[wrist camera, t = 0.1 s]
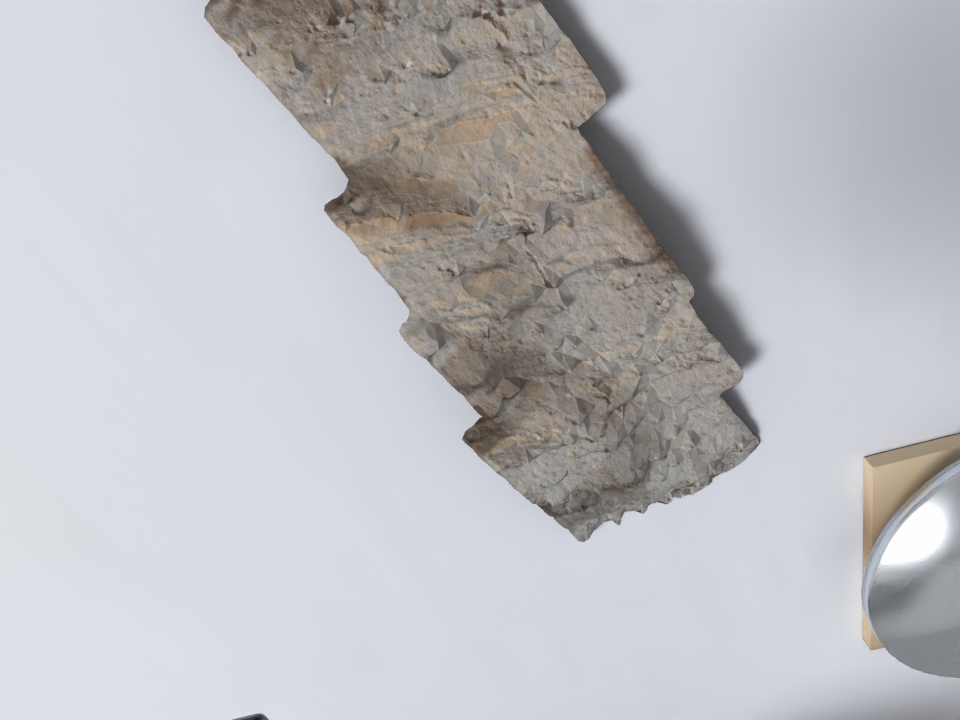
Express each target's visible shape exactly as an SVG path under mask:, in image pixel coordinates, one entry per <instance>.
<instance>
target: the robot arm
mask: <svg viewBox="0 0 960 720" xmlns="http://www.w3.org/2000/svg"><path fill="white" fill-rule="evenodd" d="M234 720H268V718H267V717H266V716H265V715H263V714H253V715H249V716H245V717H241V718H237V719H234Z"/></svg>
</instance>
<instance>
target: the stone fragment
mask: <svg viewBox="0 0 960 720" xmlns="http://www.w3.org/2000/svg"><path fill="white" fill-rule="evenodd" d="M204 17H205V19H206V20H207V21H208V22H209V24H210V25H211V26H212V27H213V29H214V30H215V31H216V32H217V33H218V34H219V36H220V37H221V38H222V39H223V40H224V41H225V42H226V43H227V44H229V45H230V46H231V47H233V49H234V50H235V52H236V53H237V55H238V56H239V58H240V59H241V61H242V62H243V63H244V64H245V65H246V66H247V67H248V68H249V69H250V70H251V71H252V72H253V73H254V74H255V75H256V76H257V77H258V78H260V80H261V81H262V82H263V83H264V84H265V85H266V86H267V87H268V88H269V90H270V91H271V92H272V93H273V94H274V95H275V97H276V98H277V99H278V100H279V101H280V102H281V103H282V104H283V105H284V106H285V107H286V108H287V109H288V110H289V111H290V112H291V113H292V114H293V116H294V117H295V118H296V119H297V121H298V122H299V123H300V124H301V126H302V127H303V128H304V129H305V130H306V131H307V132H308V133H309V134H310V135H311V136H312V137H313V138H314V139H315V140H316V141H317V142H318V143H319V144H320V145H321V146H322V147H323V148H324V150H325V151H326V152H327V153H328V154H329V155H331V156H332V157H333V158H334V159H335V160H336V162H337V163H338V165H339V166H340V168H341V169H342V171H343V172H344V174H345V175H346V176H347V178H348V179H349V181H348V184H347V187H346V189H345V191H344V193H343V194H341V195H340V196H339V197H338V198H336V199H333V200H331V201H330V202H329V203H327V204H326V205H325V208H324V211H325V212H326V213H327V215H328V216H329V217H330V219H331V220H332V221H333V222H334V224H335V225H336V226H337V227H338V228H340V229H341V230H342V231H343V232H344V233H346V234H347V235H348V236H349V237H350V238H351V240H352V241H353V242H354V244H355V245H356V247H357V248H358V250H359V251H360V253H362V254H363V255H365V256H367V257H368V259H369V260H370V262H371V264H372V265H373V266H374V268H375V269H376V270H377V271H378V272H379V273H380V275H381V276H382V277H383V278H384V279H385V280H386V282H387V283H388V284H389V285H390V286H392V287H393V288H394V289H395V290H396V292H397V293H398V294H399V296H400V297H401V299H402V300H403V302H404V303H405V304H406V306H407V307H408V308H409V310H410V313H409V318H408V320H407V322H405V323H403V324H402V326H401V328H400V331H399V332H400V334H401V336H402V337H403V339H404V340H405V341H406V342H407V344H408V345H409V346H410V347H411V348H412V349H413V350H414V351H415V352H416V353H417V354H419V355H420V356H422V357H424V358H425V359H427V360H428V361H429V362H430V364H431V365H432V367H434V368H435V369H436V370H437V371H438V372H439V373H440V374H441V375H443V377H444V378H445V379H446V380H447V381H448V382H449V384H450V385H452V386H453V387H454V388H455V389H456V390H457V391H458V392H459V393H461V394H462V395H463V396H464V397H465V398H466V400H467V401H468V402H469V403H470V404H471V406H472V407H473V408H474V409H475V410H476V411H477V413H478V414H480V415H481V416H482V417H481V418H480V419H479V420H478V421H477V422H476V423H475V424H474V425H473V426H472V427H471V428H469V429H468V430H467V431H466V432H465V434H464V436H463V438H462V439H463V441H464V442H465V443H466V444H467V445H468V446H470V447H471V448H472V449H473V450H474V451H475V452H476V453H477V455H478V456H479V457H480V458H481V459H482V460H483V461H484V462H485V463H487V464H488V465H489V466H490V467H491V468H492V469H493V470H494V471H495V472H497V473H498V474H499V475H500V476H502V477H504V478H505V479H506V480H507V481H508V482H509V483H510V484H511V485H512V487H513V488H514V489H516V490H517V491H519V492H520V493H521V494H522V495H523V496H524V497H526V498H527V499H528V500H529V501H530V502H531V503H532V504H537V505H538V506H539V507H541V509H543V510H544V512H545V513H547V514H548V515H549V516H553V518H554V519H555V520H556V521H557V522H558V523H559V524H560V525H561V526H563V527H564V528H567V529H569V531H570V532H571V533H572V534H573V535H574V536H575V537H576V539H577V540H578V541H581V542H585V541H586V540H588V539H589V538H590V536H591V534H592V532H593V530H594V529H595V528H596V527H598V526H599V525H600V524H601V523H602V522H605V521H610V520H611V521H614V522H615V523H616V524H618V525H619V524H620V519H621V518H622V516H623V514H624V512H625V511H637V512H640V513H644V512H645V511H646V510H647V508H648V505H650V504H652V503H656V502H660V503H663V504H668V503H670V502H672V500H673V498H683V497H684V496H685V495H693V494H694V493H696V492H697V491H699V490H701V489H703V488H704V487H706V486H708V485H709V484H710V483H711V482H712V478H713V477H715V476H717V475H719V474H721V473H724V472H727V471H729V470H731V469H732V468H734V467H736V466H737V465H739V464H740V463H742V462H743V461H744V460H745V459H746V458H747V457H748V456H749V455H750V454H751V453H752V452H753V451H754V450H755V449H756V448H757V446H758V445H759V441H758V438H757V436H754V435H753V434H752V432H751V431H750V429H749V428H748V427H747V426H746V425H745V424H744V422H743V421H742V420H741V419H740V418H739V417H738V416H737V415H736V414H735V413H734V412H733V411H732V409H731V408H730V407H729V405H728V404H727V403H726V402H725V401H724V400H723V399H722V398H721V397H720V395H721V394H722V393H723V392H724V391H726V390H727V389H729V388H731V387H733V386H735V385H737V384H738V383H739V382H740V381H741V379H742V377H743V372H742V371H741V369H740V367H739V366H738V364H737V363H736V362H735V360H734V359H733V358H732V357H731V356H730V355H729V354H728V353H727V351H726V350H725V349H724V347H723V346H722V344H721V343H720V342H719V341H718V340H717V339H716V338H715V336H713V335H712V334H711V333H709V331H708V330H707V328H706V326H705V325H704V324H703V323H702V321H701V320H700V319H699V318H698V316H697V314H696V312H695V310H694V309H693V307H692V305H691V304H690V302H689V301H690V300H691V299H692V297H693V296H694V288H693V286H692V284H691V283H690V282H689V280H688V279H687V277H686V276H685V275H684V274H682V273H681V272H680V269H679V268H678V267H677V265H676V264H675V263H674V261H673V260H672V259H671V258H670V257H669V256H668V255H667V254H666V252H665V251H664V249H663V248H662V247H659V246H658V245H657V242H656V240H655V238H654V236H653V235H652V233H651V232H650V231H649V229H648V228H647V226H646V224H645V223H644V221H643V219H642V217H641V216H640V214H639V213H638V212H637V211H636V210H635V208H634V207H633V206H632V205H631V204H630V203H629V202H628V201H627V200H626V198H625V196H624V194H623V192H622V190H621V189H620V188H619V186H618V185H617V184H616V182H615V181H614V180H613V178H612V177H611V176H610V174H609V173H608V172H607V170H606V169H605V168H604V166H603V165H602V163H601V162H600V160H599V159H598V157H597V156H596V155H595V153H594V152H593V150H592V149H591V147H590V145H589V143H588V142H587V141H586V140H585V139H584V138H583V137H582V136H581V135H580V132H579V130H578V128H577V127H579V126H580V125H581V124H583V123H584V122H585V121H587V120H588V119H589V118H590V117H591V116H593V115H594V114H595V113H596V112H597V111H598V110H599V109H600V108H601V107H602V106H603V105H604V104H605V103H606V94H605V92H604V90H603V89H602V87H601V85H600V83H599V81H598V79H597V78H596V76H595V75H594V73H593V72H592V71H591V69H590V68H589V66H588V65H587V63H586V62H585V61H584V59H583V58H582V56H581V55H580V54H579V52H578V51H577V49H576V47H575V46H574V44H573V43H572V41H571V40H570V39H569V38H568V37H567V36H566V35H565V34H564V33H563V32H562V30H561V29H560V28H559V27H558V25H557V23H556V22H555V20H554V19H553V18H552V17H551V15H550V14H549V13H548V11H547V10H546V9H545V7H544V6H543V5H542V3H541V2H540V0H210V2H209V3H208V4H207V6H206V7H205V14H204Z"/></svg>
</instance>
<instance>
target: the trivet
mask: <svg viewBox="0 0 960 720" xmlns="http://www.w3.org/2000/svg"><path fill="white" fill-rule="evenodd" d="M959 459H960V434H956V435H952V436H948V437H944V438H940V439H936V440H932V441H928V442H924V443H920V444H916V445H912V446H908V447H904V448H900V449H896V450H892V451H888V452H884V453H880V454H876V455H872V456H868V457H864V516H863V574H864V570H865V566H866V563H867V560H868V558H869V555H870V553H871V551H872V548H873V546H874V544H875V542H876V541H877V539H878V537H879V535H880V534H881V532H882V530H883V529H884V527H885V526H886V525H887V523H888V522H889V521H890V519H891V518H892V517H893V515H894V514H895V513H896V512H897V511H898V509H899V508H900V507H901V506H902V505H903V504H904V503H905V502H906V501H907V500H908V499H909V497H911V496H912V495H913V494H914V493H915V492H916V491H917V490H918V489H919V488H921V487H922V486H923V485H924V484H925V483H926V482H927V481H929V480H930V479H931V478H933V477H934V476H935V475H937V474H938V473H939V472H941V471H942V470H943V469H945V468H946V467H948V466H950V465H951V464H953V463H954V462H956V461H958V460H959ZM863 640H864V641H865V643H866V644H867V646H868V647H869V649H870V650H875V649H879V648H883V647H884V646H883V645H882V644H881V642H880V641H879V639H878V638H877V636H876V635H875V634H874V632H873V631H872V629H871V627H870V625H869V623H868V621H867V619H866V617H865V613H864V610H863Z"/></svg>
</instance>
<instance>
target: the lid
mask: <svg viewBox="0 0 960 720" xmlns="http://www.w3.org/2000/svg"><path fill="white" fill-rule="evenodd" d="M861 595H862V606H863V610H864V613H865V617H866V619H867V621H868V623H869V625H870V627H871V629H872V631H873V632H874V634H875V635H876V636H877V638H878V639H879V641H880V642H881V644H882V645H883V646H884V647H885V648H886V650H887V651H888V652H889V653H890V654H891V655H892V656H894V657H895V658H896V659H897V660H899V661H900V662H902V663H904V664H905V665H907V666H909V667H911V668H913V669H916V670H919V671H922V672H924V673H928V674H933V675H938V676H945V677H956V678H960V459H959V460H958V461H956V462H954V463H953V464H951V465H950V466H948V467H946V468H945V469H943V470H942V471H941V472H939V473H938V474H937V475H935V476H934V477H933V478H931V479H930V480H929V481H927V482H926V483H925V484H924V485H923V486H922V487H921V488H919V489H918V490H917V491H916V492H915V493H914V494H913V495H912V496H911V497H909V499H908V500H907V501H906V502H905V503H904V504H903V505H902V506H901V507H900V508H899V509H898V511H897V512H896V513H895V514H894V515H893V517H892V518H891V519H890V521H889V522H888V523H887V525H886V526H885V527H884V529H883V530H882V532H881V534H880V535H879V537H878V539H877V541H876V542H875V544H874V546H873V548H872V551H871V553H870V555H869V558H868V560H867V563H866V566H865V570H864V574H863V579H862V589H861Z"/></svg>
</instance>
